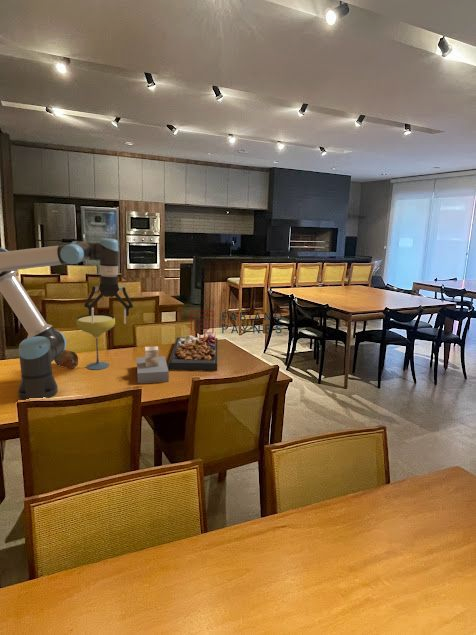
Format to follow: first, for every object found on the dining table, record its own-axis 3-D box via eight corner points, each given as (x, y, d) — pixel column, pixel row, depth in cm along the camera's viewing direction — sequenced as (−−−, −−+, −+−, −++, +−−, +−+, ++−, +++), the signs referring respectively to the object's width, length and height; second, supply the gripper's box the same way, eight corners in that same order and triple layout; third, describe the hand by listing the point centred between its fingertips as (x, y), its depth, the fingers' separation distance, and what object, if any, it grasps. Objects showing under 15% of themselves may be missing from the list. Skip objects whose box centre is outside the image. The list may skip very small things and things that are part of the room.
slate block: (137, 383, 191) (137, 373, 189) (136, 366, 211) (136, 357, 210) (168, 381, 194) (168, 371, 193) (164, 365, 215) (164, 356, 214)
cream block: (145, 366, 198) (145, 350, 196) (145, 362, 204) (145, 346, 202) (158, 366, 199) (158, 350, 198) (157, 361, 205) (157, 346, 203)
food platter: (176, 344, 253) (176, 328, 250) (217, 345, 254) (217, 328, 251) (168, 371, 209) (167, 351, 206) (217, 371, 210) (217, 352, 208)
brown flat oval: (53, 364, 211) (52, 348, 209) (58, 362, 213) (57, 347, 211) (74, 370, 204) (73, 354, 202) (79, 368, 207) (79, 352, 205)
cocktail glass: (123, 363, 216) (122, 316, 210) (102, 374, 199) (100, 324, 194) (93, 358, 221) (91, 312, 216) (70, 369, 205) (67, 320, 199)
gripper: (77, 275, 172) (78, 325, 177) (139, 277, 179) (138, 325, 184) (78, 272, 179) (79, 320, 184) (138, 274, 186) (137, 320, 191)
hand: (108, 323), depth 184 cm, fingers open, 13 cm apart
